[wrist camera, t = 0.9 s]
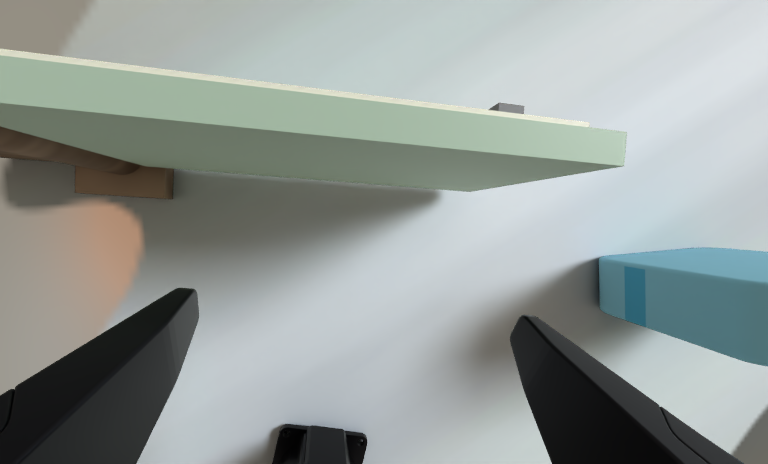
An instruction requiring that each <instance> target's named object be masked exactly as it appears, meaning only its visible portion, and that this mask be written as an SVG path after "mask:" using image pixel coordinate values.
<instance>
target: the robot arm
mask: <svg viewBox="0 0 768 464" xmlns="http://www.w3.org/2000/svg"><path fill="white" fill-rule="evenodd" d="M198 319H199V308H198V298H197V292H196V290H194V289H189V288H177V289H175V290H173V291H171V292H170V293H168V294H166V295H165V296H163V297H161V298H160V299H158V300H156V301H155V302H153V303H152V304H150V305H148V306H147V307H145V308H143V309H142V310H140V311H138V312H137V313H135V314H133V315H132V316H130V317H129V318H127V319H125V320H124V321H122V322H120V323H119V324H117V325H115V326H114V327H112V328H110V329H109V330H107V331H106V332H104V333H102V334H101V335H99V336H97V337H96V338H94V339H92V340H91V341H89V342H88V343H86V344H84V345H83V346H81V347H79V348H78V349H76V350H74V351H73V352H71V353H69V354H68V355H66V356H64V357H63V358H61V359H60V360H58V361H56V362H55V363H53V364H51V365H50V366H48V367H46V368H45V369H43V370H41V371H40V372H38V373H37V374H35V375H33V376H32V377H30V378H28V379H27V380H25V381H24V382H22V383H20V384H18V385H17V386H16V387H15V390H14V389H10V390H8V391H7V392H5V393H4V394H2V395H0V464H136V463H137V461H138V459H139V457H140V455H141V453H142V451H143V449H144V447H145V445H146V443H147V441H148V439H149V437H150V434H151V432H152V430H153V428H154V426H155V424H156V422H157V420H158V418H159V416H160V414H161V412H162V410H163V408H164V406H165V404H166V402H167V400H168V398H169V396H170V394H171V392H172V390H173V387H174V385H175V383H176V381H177V379H178V376H179V373H180V371H181V368H182V365H183V362H184V359H185V357H186V354H187V351H188V348H189V345H190V343H191V340H192V337H193V334H194V331H195V329H196V326H197V323H198ZM510 342H511V346H512V350H513V353H514V357H515V361H516V364H517V368H518V371H519V375H520V378H521V382H522V385H523V389H524V392H525V395H526V397H527V400H528V403H529V405H530V408H531V410H532V413H533V416H534V418H535V421H536V423H537V426H538V429H539V431H540V434H541V436H542V439H543V441H544V444H545V447H546V449H547V452H548V454H549V457H550V460H551V462H552V464H744V463H742V462H741V461H739V460H738V459H736V458H735V457H733V456H732V455H730V454H729V453H727V452H726V451H724V450H723V449H721V448H720V447H718V446H717V445H715V444H714V443H712V442H711V441H709V440H708V439H706V438H705V437H703V436H702V435H701V434H699V433H698V432H696V431H695V430H693V429H692V428H691V427H689V426H688V425H686V424H685V423H683V422H682V421H681V420H679V419H678V418H676V417H675V416H674V415H672V414H671V413H670V412H668V411H667V410H665V409H664V408H663V407H659V405H658V404H657V403H656V402H654V401H653V400H651V399H650V398H649V397H647V396H646V395H644V394H643V393H642V392H640V391H639V390H638V389H636V388H635V387H633V386H632V385H631V384H629V383H628V382H626V381H625V380H624V379H622V378H621V377H620V376H618V375H617V374H615V373H614V372H613V371H611V370H610V369H608V368H607V367H606V366H604V365H603V364H601V363H600V362H599V361H597V360H596V359H595V358H593V357H592V356H590V355H589V354H588V353H586V352H585V351H583V350H582V349H581V348H579V347H578V346H577V345H575V344H574V343H572V342H571V341H570V340H568V339H567V338H565V337H564V336H563V335H561V334H560V333H559V332H557V331H556V330H554V329H553V328H552V327H550V326H549V325H547V324H546V323H545V322H543V321H542V320H541V319H539V318H538V317H536V316H531V315H522V316H521V317H519V319H518V321H517V323H516V325H515V327H514V329H513V331H512V333H511V336H510ZM285 431H289V432H290V433H289V434H285V433H284V432H285ZM361 439H362V440H363V441H362V442H360V443H359V442H358V441H359V440H361ZM366 446H367V437H366V435H365V434H363V433H358V432H350V431H344V430H343V429H336V428H328V427H320V426H310V427H309V426H301V425H292V424H285V425H283V426H282V427H281V429H280V433H279V437H278V441H277V445H276V450H275V454H274V458H273V462H272V464H362V463H363V459H364V455H365V451H366Z"/></svg>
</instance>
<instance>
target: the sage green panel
mask: <svg viewBox="0 0 768 464" xmlns="http://www.w3.org/2000/svg"><path fill="white" fill-rule="evenodd" d="M589 125H590V123H589V122H581V121H573V120H565V119H557V118H549V117H541V116H533V115H525V114H524V106H521V105H513V104H505V103H498V104H496V105H495V106H493V107H492V108H490V109H489V110H485V109H477V108H469V107H461V106H453V105H446V104H438V103H430V102H422V101H414V100H406V99H398V98H390V97H382V96H374V95H366V94H358V93H350V92H342V91H334V90H326V89H318V88H310V87H302V86H294V85H286V84H278V83H270V82H262V81H254V80H246V79H238V78H230V77H222V76H214V75H206V74H198V73H190V72H182V71H174V70H166V69H158V68H150V67H142V66H134V65H126V64H118V63H110V62H102V61H94V60H86V59H78V58H70V57H62V56H54V55H46V54H38V53H30V52H23V51H15V50H6V49H0V126H1V127H4V128H8V129H11V130H15V131H19V132H22V133H26V134H30V135H33V136H37V137H41V138H44V139H48V140H51V141H55V142H59V143H62V144H66V145H70V146H73V147H77V148H81V149H84V150H88V151H91V152H95V153H99V154H102V155H106V156H110V157H113V158H117V159H121V160H124V161H128V162H131V163H135V164H139V165H142V166H147V167H160V168H173V169H185V170H198V171H211V172H224V173H236V174H249V175H262V176H275V177H287V178H300V179H313V180H326V181H338V182H351V183H364V184H377V185H389V186H402V187H415V188H428V189H440V190H453V191H466V192H471V191H477V190H483V189H489V188H495V187H501V186H507V185H513V184H519V183H525V182H531V181H537V180H543V179H549V178H555V177H561V176H567V175H573V174H579V173H585V172H591V171H597V170H603V169H610V168H616V167H622V166H624V160H625V149H626V137H627V132H623V131H615V130H607V129H598V128H590V127H589Z"/></svg>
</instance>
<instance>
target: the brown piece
mask: <svg viewBox="0 0 768 464" xmlns="http://www.w3.org/2000/svg"><path fill="white" fill-rule="evenodd" d="M0 157H1V158H14V159H27V160H39V161H52V162H60V163H65V164H70V165H75V193H85V194H99V195H115V196H131V197H146V198H162V199H173V176H174V169H173V168H160V167H147V166H142V165H139V164H135V163H131V162H128V161H124V160H121V159H117V158H113V157H110V156H106V155H102V154H99V153H95V152H91V151H88V150H84V149H81V148H77V147H73V146H70V145H66V144H62V143H59V142H55V141H51V140H48V139H44V138H41V137H37V136H33V135H30V134H26V133H22V132H19V131H15V130H11V129H8V128H4V127H1V126H0Z"/></svg>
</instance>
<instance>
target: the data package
mask: <svg viewBox="0 0 768 464" xmlns="http://www.w3.org/2000/svg"><path fill="white" fill-rule="evenodd" d="M599 287H600V309H601V310H602V311H603V312H604V313H606V314H609V315H612V316H615V317H618V318H621V319H624V320H626V321H629V322H632V323H635V324H638V325H641V326H644V327H647V328H649V329H652V330H655V331H658V332H661V333H664V334H667V335H670V336H672V337H675V338H678V339H681V340H684V341H687V342H690V343H693V344H695V345H698V346H701V347H704V348H707V349H710V350H713V351H716V352H718V353H721V354H724V355H727V356H730V357H733V358H736V359H739V360H742V361H745V362H749V363H753V364H758V365H763V366H768V252H763V251H750V250H738V249H726V248H688V249H677V250H665V251H654V252H643V253H632V254H620V255H609V256H603V257H601V258H600V259H599Z"/></svg>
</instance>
